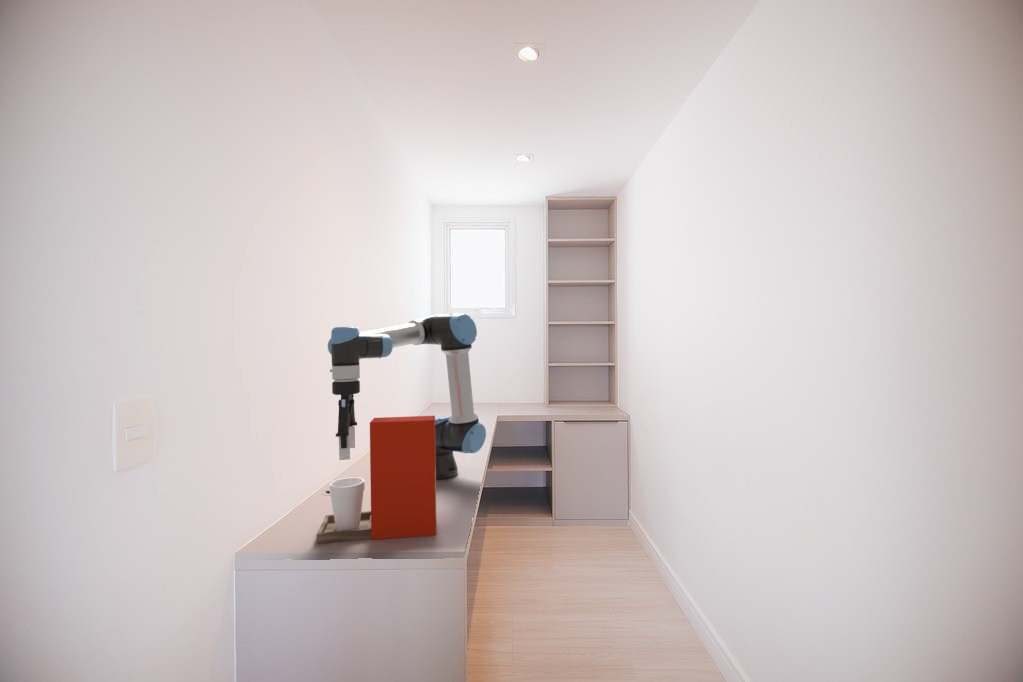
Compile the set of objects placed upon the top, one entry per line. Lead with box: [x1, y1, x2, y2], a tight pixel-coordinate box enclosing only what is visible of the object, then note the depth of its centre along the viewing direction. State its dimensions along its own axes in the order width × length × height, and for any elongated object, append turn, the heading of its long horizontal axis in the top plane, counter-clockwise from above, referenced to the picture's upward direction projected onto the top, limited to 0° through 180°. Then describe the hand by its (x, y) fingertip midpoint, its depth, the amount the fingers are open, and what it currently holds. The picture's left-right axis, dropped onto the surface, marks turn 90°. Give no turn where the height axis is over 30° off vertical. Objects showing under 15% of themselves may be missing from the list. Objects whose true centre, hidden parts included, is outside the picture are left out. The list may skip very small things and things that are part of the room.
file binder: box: [369, 415, 438, 541], centre depth 126 cm, size 8×17×32 cm, turn 98°
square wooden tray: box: [315, 510, 371, 545], centre depth 128 cm, size 14×14×2 cm
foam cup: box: [329, 476, 365, 531], centre depth 128 cm, size 10×9×13 cm
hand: (347, 453), depth 129 cm, fingers open, 13 cm apart
